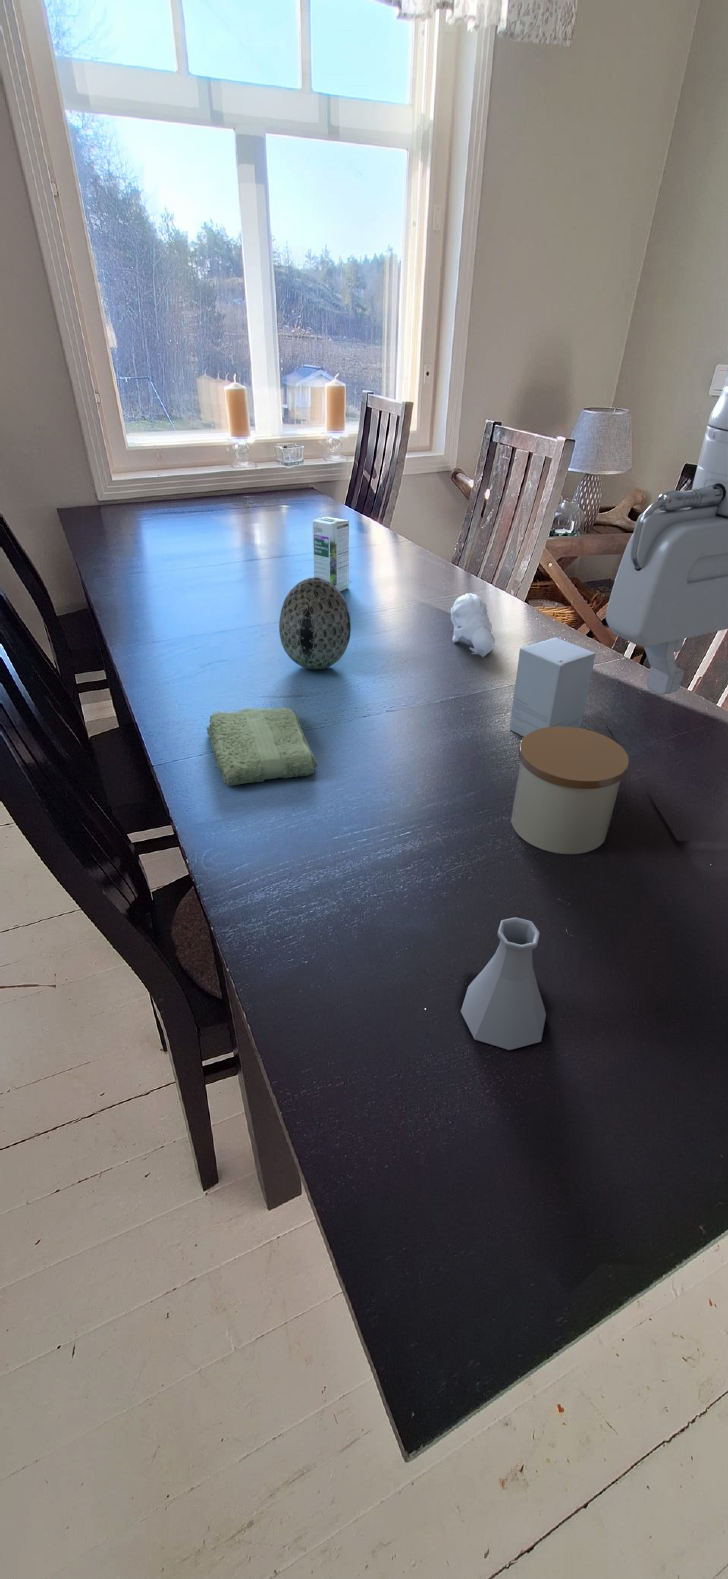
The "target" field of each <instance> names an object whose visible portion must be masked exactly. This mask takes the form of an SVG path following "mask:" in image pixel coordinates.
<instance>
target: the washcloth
mask: <svg viewBox="0 0 728 1579" xmlns="http://www.w3.org/2000/svg"><path fill="white" fill-rule="evenodd" d="M300 724H301V722H300V719H299V717H298V715H297V712H296V711H295V710H294V709H292V708H288V707H276V708H244V709H240V710H238V711H234V712H233V711H232V712H227V711H216V712H213V713H212V715H210V716H209V725H208V726H207V727H206V734H207V736H208V738H209V742H210V745H211V748H212V752H213V756H214V759H215V762H216V767H217V768H218V771H219V773H220V775H221V777H222V781H223V783H224V784H225V785H227V786H228V787H233V786H238V785H242V784H249V783H250V784H252V783H253V784H254V783H263V782H265V781H266V780H272V779H278V778H282V779H290V778H298V777H308V776H310V775H313V774H314V773H315V770H314V769H316V768H317V766H318V765H319V764H318V761H317V760H316V758H315V756H314V753H313V751H312V750H311V748H310V745H309V743H308V740H307V739H306V737H305V734H304V732H303V730H302V726H301V725H300Z"/></svg>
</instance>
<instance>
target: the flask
mask: <svg viewBox="0 0 728 1579" xmlns="http://www.w3.org/2000/svg"><path fill="white" fill-rule="evenodd" d="M497 937H498V939H499V944H498V946H497V949H496V950H495V953H494V954H493V956H492V957H491V958H490V960H489V961H488V963H486V965H485V966H484V967H483V969H482V970H481V971H480V972H479V973H478V975H477V976H476V977H475V978H473V980H472V981H471V982H470V983H469V985H468V987H467V989H466V993H465V996H464V999H463V1003H462V1007H461V1009H460V1014H461V1015H462V1017H463V1019H464V1022H465V1023H466V1025H467V1028H468V1029H469V1031H470V1033H471V1035H472V1037H473V1039H474V1040H475V1041H479V1042H481V1043H485V1044H488V1045H491V1046H496V1047H497V1048H502V1049H505V1050H507V1051H511V1050H515V1049H518V1048H522V1047H526V1046H530V1045H534V1044H538V1043H540V1042H542V1038H543V1035H544V1034H543V1033H544V1028H545V1022H546V1018H547V1017H546V1016H547V1012H546V1008H545V1005H544V1002H543V999H542V996H541V992H540V989H539V986H538V982H537V978H536V974H535V970H534V966H533V965H534V964H533V962H534V961H533V950H534V949H536V948H537V947H538V944H539V943H538V942H539V939H540V938H539V937H540V931H539V929H538V928H537V927H536V925H535V924H534V922H533V921H531V920H527V919H524V918H520V917H511V918H506V919H501V920H500V923H499V926H498V930H497Z"/></svg>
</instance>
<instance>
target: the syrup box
mask: <svg viewBox="0 0 728 1579" xmlns="http://www.w3.org/2000/svg"><path fill="white" fill-rule="evenodd" d="M312 550H313V552H312V555H313V556H312V557H313V577H316V578H322V579H324V580H327V581H329V582H330V583H332V584H333V585H334V586H335V587H336V588H337V589H338V590H339V592H340V593H341V592H342V591H345V590H347V589H349V587H350V581H349V580H350V519H342V518H337V517H331V516H322V517H319V518H316V519H314V520H312Z"/></svg>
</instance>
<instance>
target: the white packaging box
mask: <svg viewBox="0 0 728 1579" xmlns="http://www.w3.org/2000/svg"><path fill="white" fill-rule="evenodd" d="M596 654H597V653H596V652H595V651H592V650H588V649H586V648H583V647H581V646H578V645H576V644H575V643H571V642H569V641H567V640H564V639H561V638H559V637H557V636H555V637H552V638H548V639H546V640H542V641H538V642H536V643H532V644H530V645H529V644H528V645H526V646H522V647H519V653H518V661H517V668H516V676H515V683H514V689H513V690H514V691H513V697H512V706H511V714H510V720H509V728H508V729H509V730H510V731H512V732H514V733H516V734H517V735H519V736H521V737H522V738H524V737H525V736H526V735H527V734H529V733H530V732H532V731H535V730H537V729H541V728H546V727H554V726H566V727H576V728H582V725H583V719H584V714H585V710H586V704H587V699H588V695H589V690H590V684H591V680H592V674H593V670H594V666H595V665H594V664H595V659H596Z"/></svg>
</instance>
